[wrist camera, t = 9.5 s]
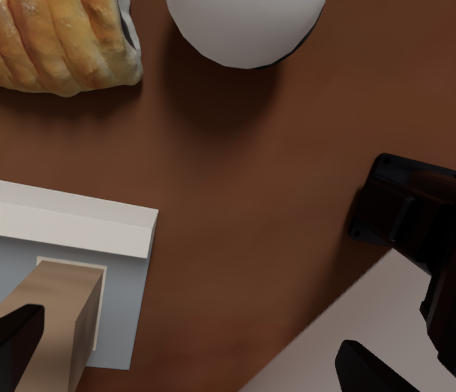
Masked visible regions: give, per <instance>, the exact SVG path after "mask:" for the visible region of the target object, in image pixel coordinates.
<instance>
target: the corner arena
mask: <svg viewBox="0 0 456 392" xmlns="http://www.w3.org/2000/svg"><path fill="white" fill-rule="evenodd" d="M158 211H159V210H157V209H151V208H146V207H141V206H135V205H130V204H124V203H119V202H114V201H108V200H103V199H98V198H92V197H87V196H81V195H76V194H71V193H65V192H60V191H55V190H49V189H44V188H38V187H33V186H28V185H22V184H17V183H12V182H6V181H1V180H0V304H1V302H2V301H3V300H4V299H5V298H6V297H7V296H8V295H9V294H10V293H11V292H12V291H13V290H14V289H15V288H16V287H17V286H18V285H19V284H20V283H21V282H22V281H23V280H24V279H25V278H26V277H27V275H28V274H29V273H30V272H31V271H32V270H33V269H34V268H35V267H36V266H37V265H38V264H39V263H40V262H41V261H42V260H44V261H51V262H58V263H65V264H71V265H78V266H85V267H92V268H98V269H104V272H103V280H102V287H101V294H100V302H99V309H98V316H97V323H96V331H95V338H94V345H93V349H92V352H91V354H90V356H89V359H88V361H87V364H86V366H91V367H102V368H113V369H124V370H129V367H130V362H131V357H132V352H133V346H134V341H135V335H136V330H137V325H138V319H139V314H140V308H141V303H142V298H143V292H144V287H145V281H146V276H147V271H148V265H149V260H150V254H151V249H152V244H153V238H154V233H155V227H156V222H157V217H158Z"/></svg>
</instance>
